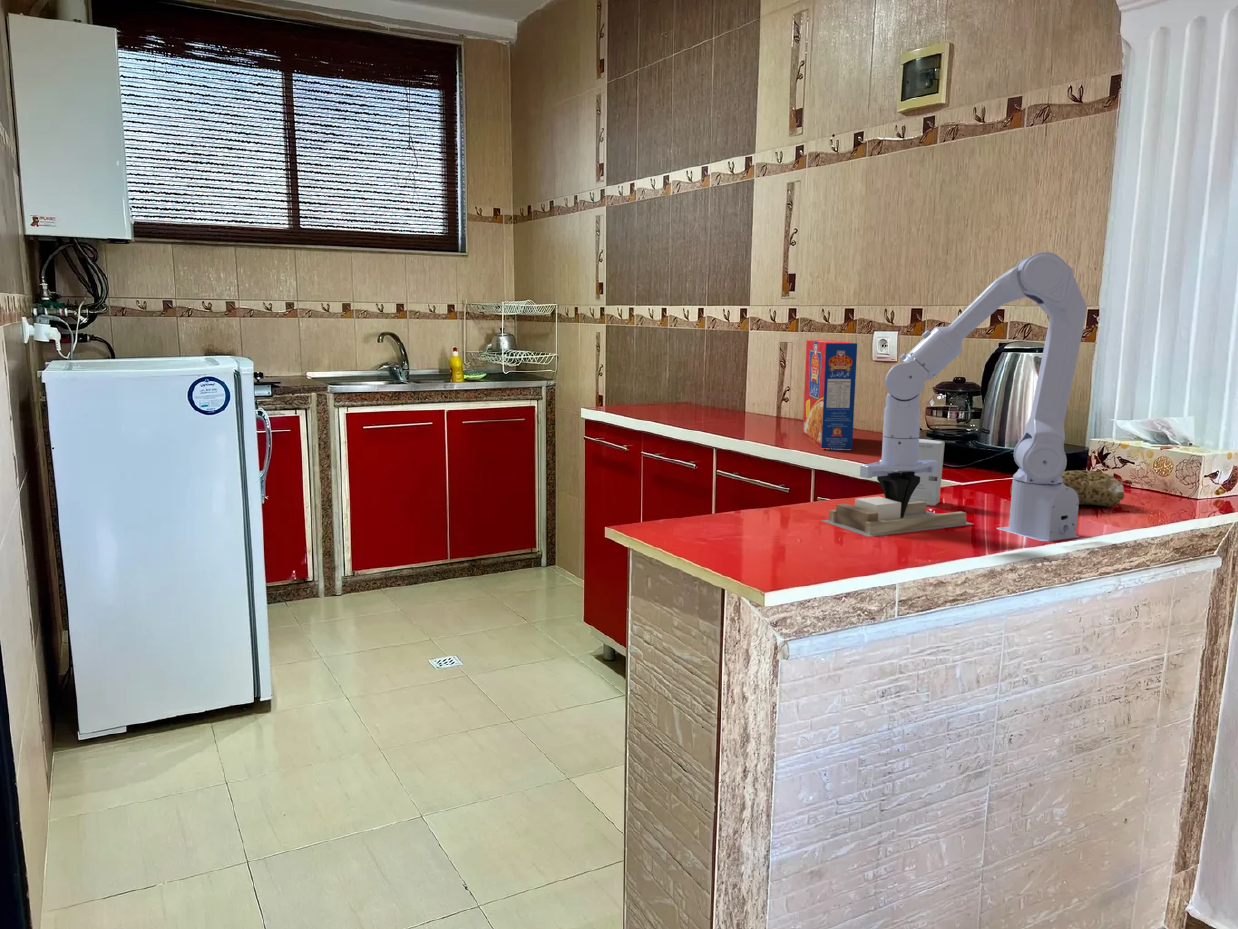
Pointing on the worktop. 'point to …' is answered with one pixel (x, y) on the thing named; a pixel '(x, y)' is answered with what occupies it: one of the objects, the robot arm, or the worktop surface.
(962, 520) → the guide rails
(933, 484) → the skincare box
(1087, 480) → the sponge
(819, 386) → the pasta box
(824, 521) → the track board
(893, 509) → the block
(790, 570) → the worktop surface
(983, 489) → the worktop surface
